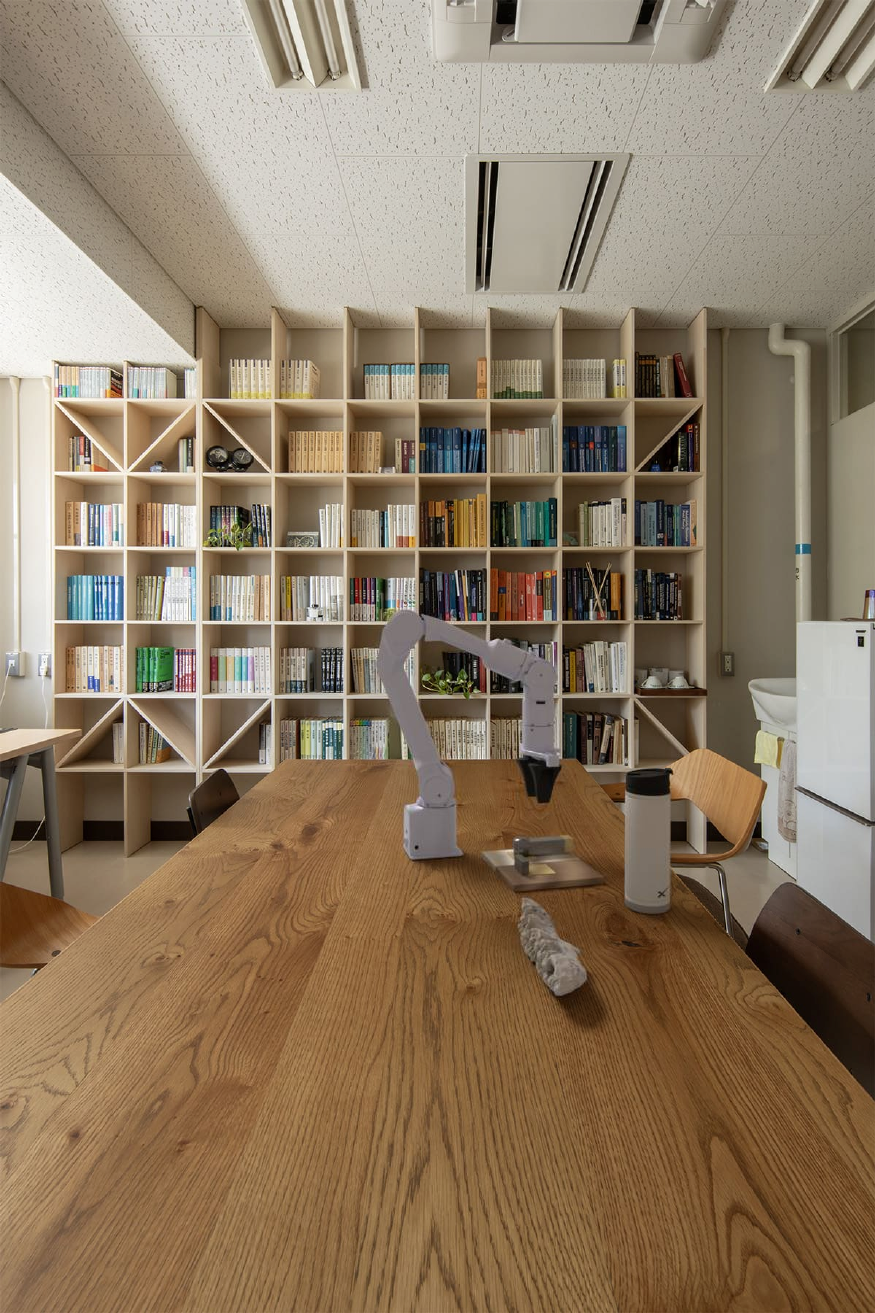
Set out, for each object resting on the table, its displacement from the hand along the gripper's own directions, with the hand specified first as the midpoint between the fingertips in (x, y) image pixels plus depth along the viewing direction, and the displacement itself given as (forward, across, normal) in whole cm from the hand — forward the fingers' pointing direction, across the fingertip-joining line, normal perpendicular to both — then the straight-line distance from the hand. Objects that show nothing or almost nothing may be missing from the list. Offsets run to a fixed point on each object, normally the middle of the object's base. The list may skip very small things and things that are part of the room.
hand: (538, 799), depth 127 cm
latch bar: (+8, -5, +1) cm, 10 cm away
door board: (+9, -10, +4) cm, 14 cm away
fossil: (+10, -42, +14) cm, 45 cm away
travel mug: (+10, -28, -6) cm, 30 cm away
